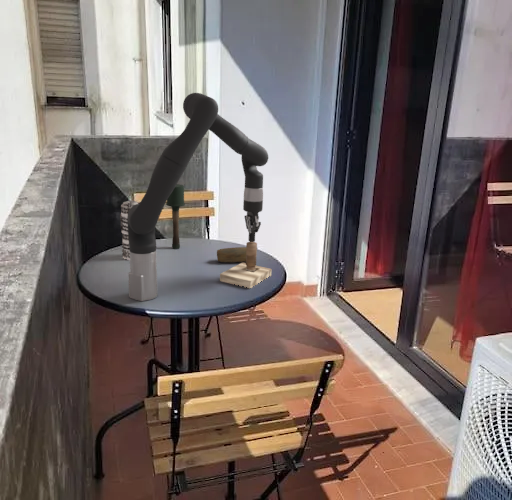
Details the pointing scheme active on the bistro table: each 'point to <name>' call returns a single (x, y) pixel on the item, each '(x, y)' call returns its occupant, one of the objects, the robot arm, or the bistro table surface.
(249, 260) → the peg
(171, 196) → the potato masher grenade
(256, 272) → the board
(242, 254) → the stone weight
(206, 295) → the bistro table surface
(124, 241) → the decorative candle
